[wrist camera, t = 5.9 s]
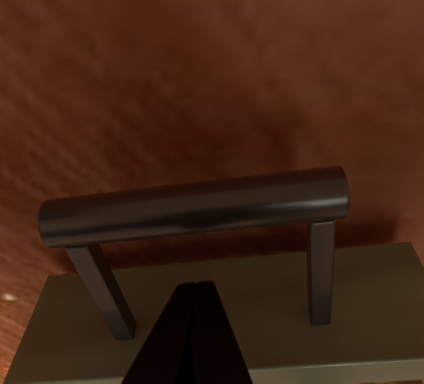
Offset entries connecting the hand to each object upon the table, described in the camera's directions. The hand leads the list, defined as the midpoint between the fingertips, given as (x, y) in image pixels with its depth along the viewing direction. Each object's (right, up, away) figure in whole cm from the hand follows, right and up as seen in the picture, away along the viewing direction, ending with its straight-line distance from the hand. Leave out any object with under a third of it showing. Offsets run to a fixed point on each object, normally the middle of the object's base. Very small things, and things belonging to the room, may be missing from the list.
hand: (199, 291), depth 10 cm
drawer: (+1, -3, +7) cm, 8 cm away
